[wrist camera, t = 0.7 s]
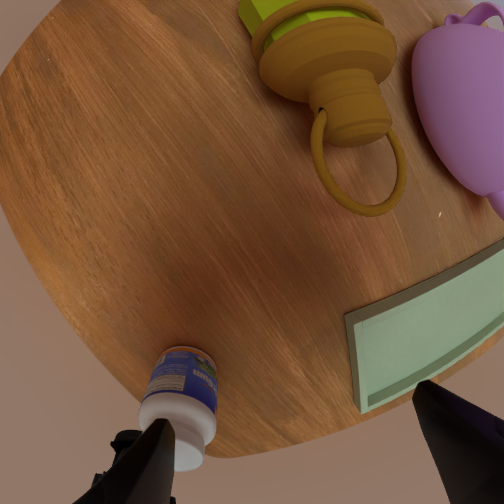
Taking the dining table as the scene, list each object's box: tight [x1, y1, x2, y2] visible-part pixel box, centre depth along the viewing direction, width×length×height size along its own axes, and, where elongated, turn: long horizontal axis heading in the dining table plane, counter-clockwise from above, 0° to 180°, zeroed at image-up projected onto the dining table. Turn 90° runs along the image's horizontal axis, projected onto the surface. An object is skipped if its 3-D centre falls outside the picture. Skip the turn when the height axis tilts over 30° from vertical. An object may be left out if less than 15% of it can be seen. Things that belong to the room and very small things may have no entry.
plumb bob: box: [238, 0, 406, 217], centre depth 13 cm, size 9×9×25 cm
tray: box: [344, 239, 504, 414], centre depth 23 cm, size 28×12×2 cm, turn 106°
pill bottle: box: [138, 346, 218, 471], centre depth 17 cm, size 5×5×10 cm
